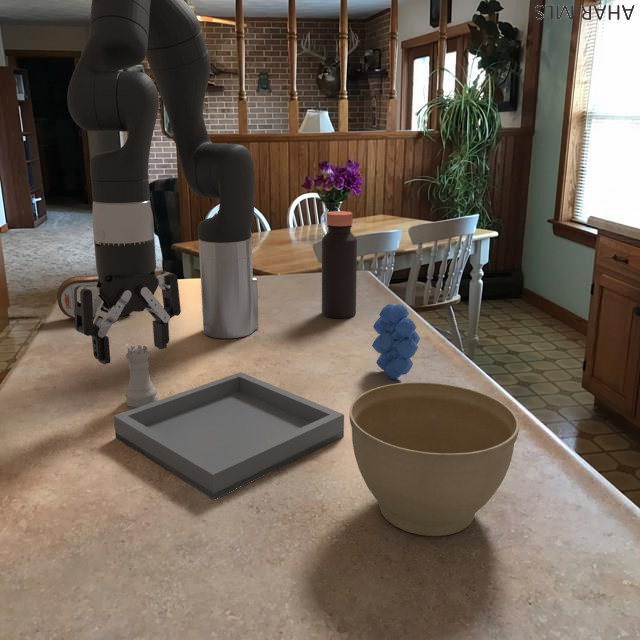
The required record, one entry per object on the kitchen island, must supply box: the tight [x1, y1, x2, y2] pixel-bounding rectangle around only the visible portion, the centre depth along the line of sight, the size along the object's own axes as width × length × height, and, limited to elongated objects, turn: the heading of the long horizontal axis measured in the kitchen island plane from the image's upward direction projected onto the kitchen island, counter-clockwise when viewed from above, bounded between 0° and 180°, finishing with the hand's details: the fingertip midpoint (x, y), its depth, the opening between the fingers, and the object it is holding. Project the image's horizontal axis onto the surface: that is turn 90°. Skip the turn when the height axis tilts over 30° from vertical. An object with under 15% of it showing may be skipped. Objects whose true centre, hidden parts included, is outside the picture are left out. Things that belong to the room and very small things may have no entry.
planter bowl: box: [348, 381, 520, 537], centre depth 67 cm, size 16×16×11 cm
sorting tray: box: [113, 371, 345, 501], centre depth 84 cm, size 20×20×3 cm
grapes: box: [371, 303, 421, 380], centre depth 101 cm, size 12×7×12 cm, turn 19°
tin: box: [56, 274, 128, 320], centre depth 131 cm, size 15×3×8 cm, turn 108°
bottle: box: [321, 210, 358, 319], centre depth 131 cm, size 7×7×20 cm
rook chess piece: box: [124, 344, 159, 409], centre depth 93 cm, size 4×4×8 cm
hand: (133, 354), depth 92 cm, fingers open, 8 cm apart
